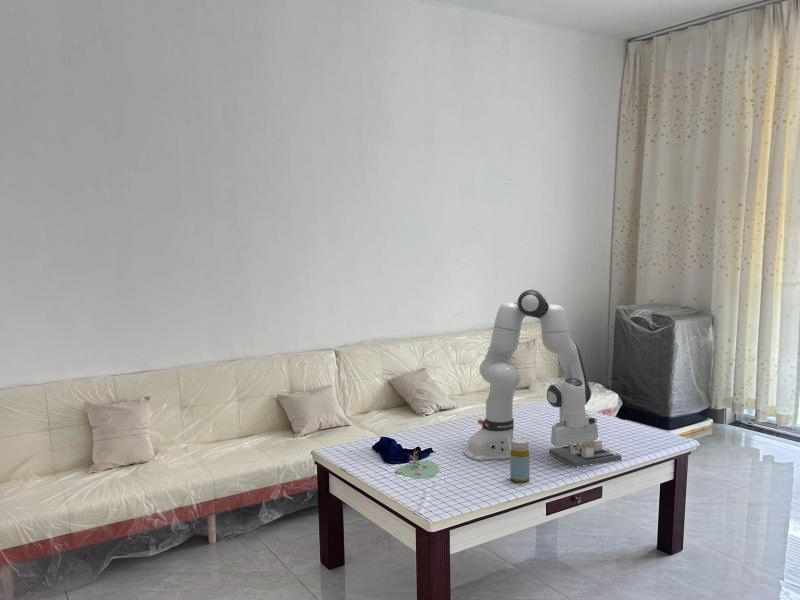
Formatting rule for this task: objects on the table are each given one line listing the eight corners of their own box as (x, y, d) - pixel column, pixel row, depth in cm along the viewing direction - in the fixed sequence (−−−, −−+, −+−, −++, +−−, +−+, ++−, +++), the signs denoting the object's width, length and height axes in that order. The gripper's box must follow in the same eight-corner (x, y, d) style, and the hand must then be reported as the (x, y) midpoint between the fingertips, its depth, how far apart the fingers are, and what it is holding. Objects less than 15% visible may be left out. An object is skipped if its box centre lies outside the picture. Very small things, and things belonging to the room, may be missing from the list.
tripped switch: (585, 458, 251) (585, 448, 251) (581, 456, 254) (581, 445, 253) (593, 457, 252) (593, 446, 252) (588, 455, 255) (589, 444, 255)
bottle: (506, 479, 236) (506, 440, 235) (517, 474, 241) (517, 436, 239) (522, 484, 231) (522, 444, 230) (533, 479, 236) (533, 440, 234)
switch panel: (574, 467, 247) (574, 451, 247) (549, 453, 264) (549, 438, 264) (621, 460, 254) (621, 444, 254) (593, 446, 271) (593, 432, 271)
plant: (392, 488, 232) (392, 464, 231) (367, 471, 250) (366, 448, 249) (449, 474, 244) (448, 451, 243) (420, 459, 262) (420, 437, 261)
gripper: (556, 425, 243) (557, 460, 245) (600, 418, 251) (600, 452, 252) (547, 421, 249) (547, 455, 251) (590, 414, 257) (590, 447, 258)
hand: (574, 453), depth 251 cm, fingers closed
